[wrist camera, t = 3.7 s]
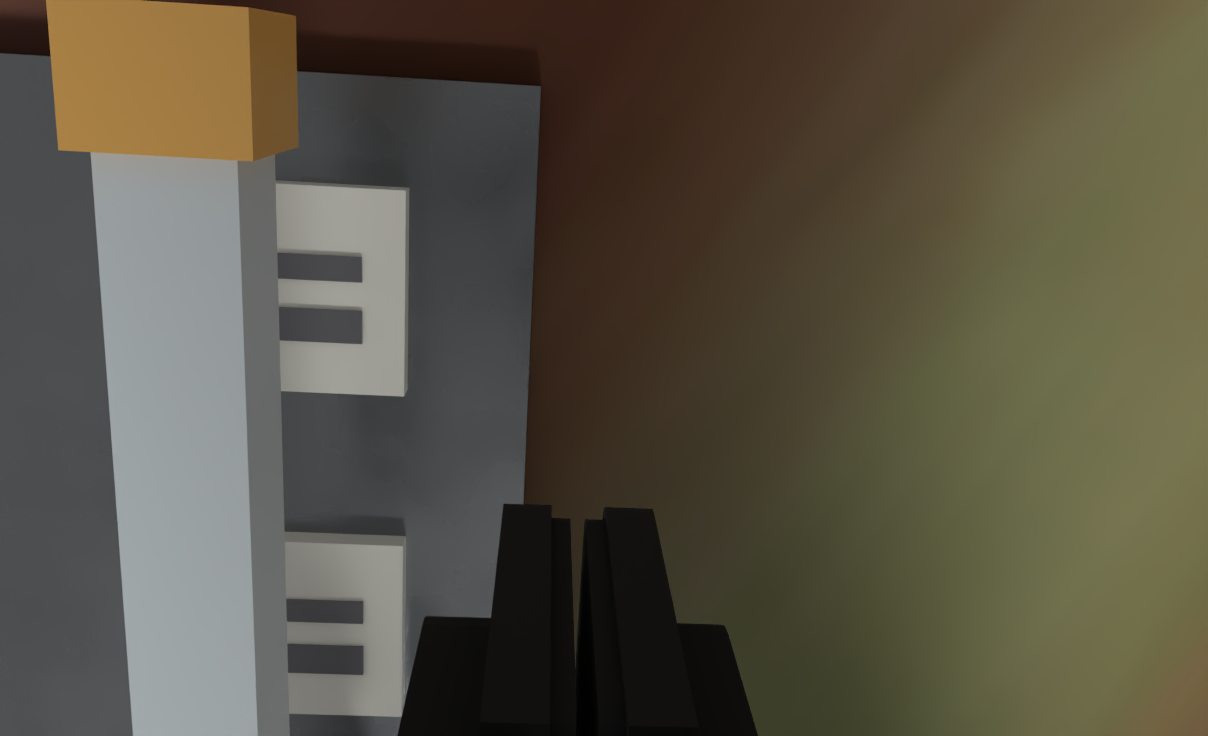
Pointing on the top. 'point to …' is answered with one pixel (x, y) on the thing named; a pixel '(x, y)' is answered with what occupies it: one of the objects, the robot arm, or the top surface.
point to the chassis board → (309, 420)
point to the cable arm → (190, 340)
